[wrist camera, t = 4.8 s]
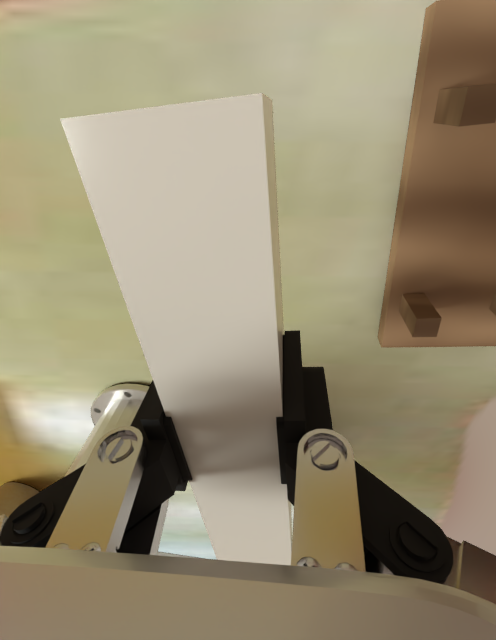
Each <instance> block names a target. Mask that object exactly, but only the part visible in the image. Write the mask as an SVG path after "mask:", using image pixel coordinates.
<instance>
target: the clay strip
mask: <svg viewBox="0 0 496 640" xmlns="http://www.w3.org/2000/svg"><path fill="white" fill-rule="evenodd" d="M60 120H61V123H62V126H63V128H64V131H65V134H66V137H67V140H68V142H69V145H70V148H71V151H72V154H73V156H74V159H75V162H76V165H77V168H78V170H79V173H80V176H81V179H82V182H83V185H84V187H85V190H86V193H87V196H88V199H89V201H90V204H91V207H92V210H93V213H94V215H95V218H96V221H97V224H98V227H99V229H100V232H101V235H102V238H103V241H104V243H105V246H106V249H107V252H108V255H109V258H110V260H111V263H112V266H113V269H114V272H115V274H116V277H117V280H118V283H119V286H120V288H121V291H122V294H123V297H124V300H125V302H126V305H127V308H128V311H129V314H130V316H131V319H132V322H133V325H134V328H135V331H136V333H137V336H138V339H139V342H140V345H141V347H142V350H143V353H144V356H145V359H146V361H147V364H148V367H149V370H150V373H151V375H152V378H153V381H154V384H155V387H156V389H157V392H158V395H159V398H160V401H161V404H162V406H163V409H164V412H165V415H166V417H171V418H172V421H173V423H174V426H175V429H176V432H177V435H178V438H179V441H180V444H181V447H182V450H183V452H184V455H185V458H186V461H187V464H188V467H189V470H190V473H191V476H192V478H193V480H192V481H189V482H190V485H191V488H192V491H193V493H194V496H195V499H196V502H197V505H198V507H199V510H200V513H201V516H202V519H203V521H204V524H205V527H206V530H207V533H208V535H209V538H210V541H211V544H212V547H213V549H214V552H215V555H216V558H217V560H227V561H240V562H252V563H265V564H278V565H291V553H292V518H291V502H290V501H289V500H288V497H287V484H281V476H280V464H279V452H278V440H277V427H276V417H283V335H284V325H283V305H282V285H281V265H280V245H279V225H278V205H277V185H276V165H275V145H274V125H273V105H272V100H271V99H270V98H269V97H267V96H266V95H264V94H263V93H258V94H250V95H242V96H234V97H227V98H219V99H211V100H203V101H195V102H188V103H180V104H172V105H164V106H156V107H149V108H141V109H133V110H125V111H118V112H110V113H102V114H94V115H86V116H79V117H71V118H63V119H60Z"/></svg>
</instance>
